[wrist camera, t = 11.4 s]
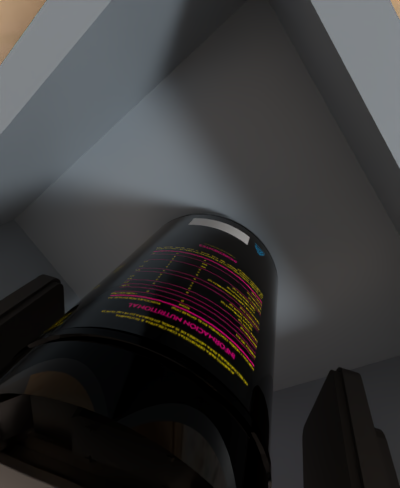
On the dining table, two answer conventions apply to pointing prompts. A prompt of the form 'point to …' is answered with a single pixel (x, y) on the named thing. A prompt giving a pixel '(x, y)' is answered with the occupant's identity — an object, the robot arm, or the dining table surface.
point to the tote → (220, 167)
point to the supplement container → (153, 371)
